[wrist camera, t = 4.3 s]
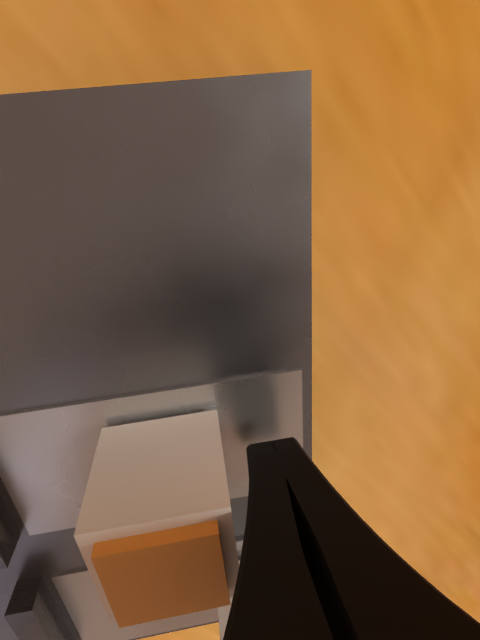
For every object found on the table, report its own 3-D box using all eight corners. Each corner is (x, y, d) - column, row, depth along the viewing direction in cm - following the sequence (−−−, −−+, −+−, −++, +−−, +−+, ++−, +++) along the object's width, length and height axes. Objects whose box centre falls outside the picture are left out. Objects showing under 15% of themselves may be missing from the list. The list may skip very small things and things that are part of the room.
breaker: (227, 488, 12) (245, 609, 9) (126, 506, 11) (108, 638, 8) (217, 409, 10) (233, 520, 7) (101, 427, 10) (69, 551, 7)
